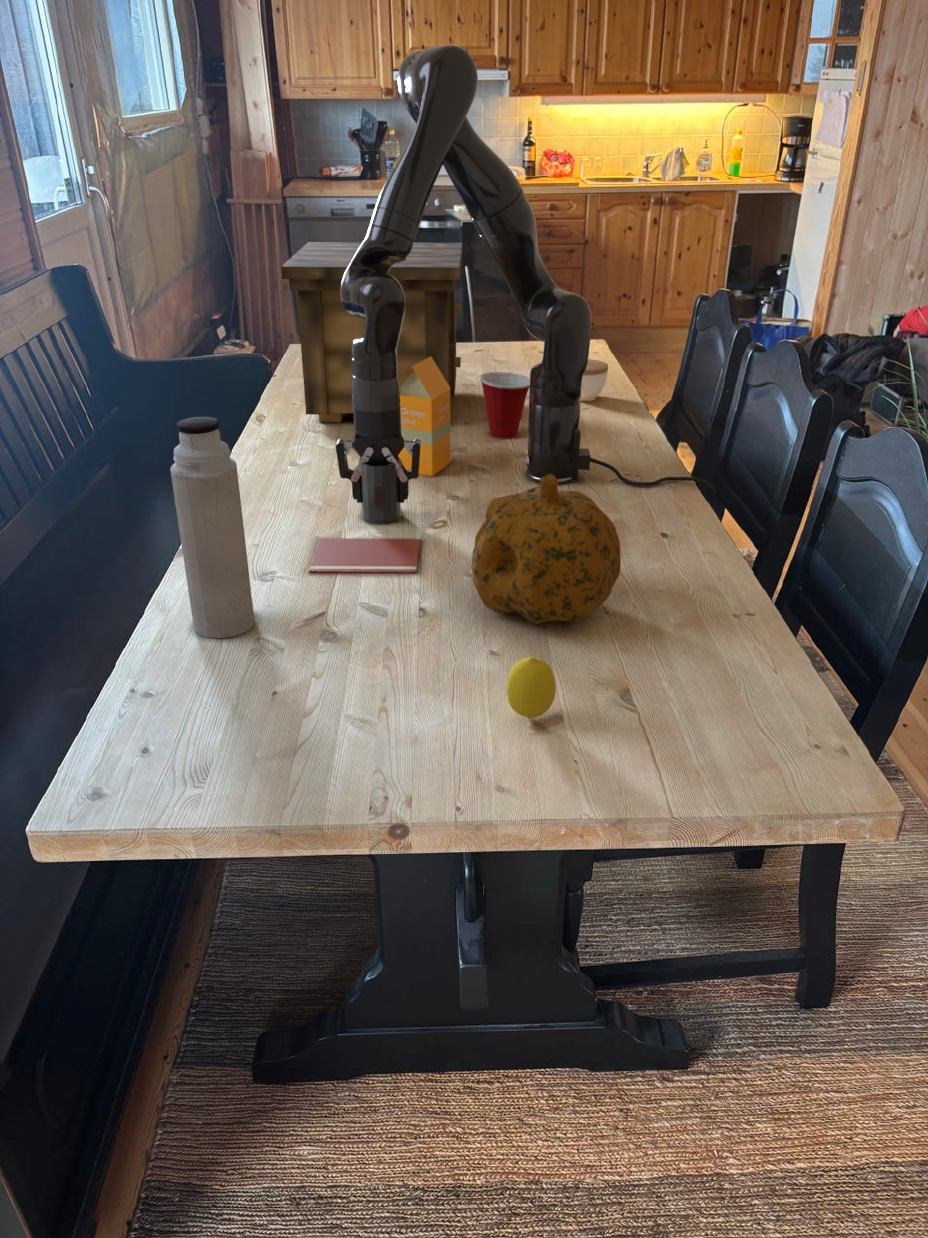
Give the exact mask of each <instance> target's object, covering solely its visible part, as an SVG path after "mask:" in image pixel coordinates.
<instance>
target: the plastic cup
mask: <svg viewBox="0 0 928 1238" xmlns="http://www.w3.org/2000/svg"><path fill="white" fill-rule="evenodd" d="M479 381H480V382H481V383H480V384H481V385H482V393H483V396H484V397H483V399H484V405H485V412H486V419H487V423H488V432H489V434H490V436H491V437H494V438H497V439H511V438H515V437H517V436H518V434H519V431H520V424H521V420H522V416H523V412H524V408H525V403H526V397H527V396H528V392H529V391H530V377H528V376H526V375H523V374H519V373H515V372H507V371H490V372H484V373H482V374H481V375H479Z"/></svg>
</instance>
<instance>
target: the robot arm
mask: <svg viewBox="0 0 928 1238" xmlns="http://www.w3.org/2000/svg"><path fill="white" fill-rule="evenodd" d="M478 84H479V75H478V68H477V66H476V63H475V61H474V58H473V57H472V56H471V54H470V53H469V52H468V51H467V50H466V49H465V48H462V47H461V46H458V45H453V44H447V45H446V44H444V45H436V46H433V47H427V48H422V49H419V50H416V51H415V50H414V51H413V52H411V53H409V54H407V56H405V57H404V59H403V60H402V61H401V63H400V65H399V69H398V75H397V86H398V92H399V96H400V98H401V100H402V103H403V105H404V107H405V108H406V111H407V112H408V114H409V115H410V117H411V118H412V119H413V122H414V123H415V127H414V131H413V132H412V134H411V136H410V137H411V138H410V139H409V141H408V143H407V145H406V147H405V148H404V151H403V152H402V155H401V156H400V157H399V159H398V161H397V162H396V164H395V165H394V166H393V167H394V168H393V169H392V171H391V172H390V174H388V177H387V179H386V180H385V182H384V184H383V186H382V188H381V191H380V193H379V194H378V198H377V201H376V203H375V207H374V210H373V213H372V216H371V219H370V223H369V226H368V229H367V232H366V235H365V237H364V240H363V241H362V242H363V243H362V244H361V245H360V247H359V249H358V250H357V252H356V254H355V256H354V257H353V259H352V261H351V263H350V264H349V266H348V268H347V270H346V272H345V274H344V277H343V280H342V283H341V291H340V295H341V302H342V305H343V307H344V308H345V310H346V311H347V312H348V313H349V314H351V315H353V316H356V317H359V318H364V319H366V321H367V324H366V331H365V335H362V336H359V337H357V338H356V339H355V340H354V342H353V345H352V362H353V389H352V393H353V397H352V403H353V412H354V413H353V428H354V429H353V430H354V437H353V438H352V439H349V440H344V439H343V438H339V439H337V442H336V444H335V453H336V459H337V466H338V472H339V477H340V478H341V479H344V480H345V479H347V480H349V481H350V482H351V493H352V498H353V500H356V503H357V504H361V488H360V475H361V463H364V464H369V465H372V466H375V465H382V466H384V465H389V464H393V463H396V471H397V473H398V477H399V479H400V481H399V492H400V503H401V504H404V503H405V501H406V500H408V498H409V494H410V493H409V491H410V490H409V488H410V487H409V481H410V480H412V479H414V480H415V479H417V478H418V477H419V463H420V448H421V441H420V440H419V439H415V440H414V441H407V440H404V439H403V437H402V434H401V408H400V386H399V380H398V361H397V346H398V342H399V338H400V334H401V329H402V324H403V319H404V314H405V295H404V291H403V288H402V286H401V284H400V283H399V281H398V280H397V279H396V278H395V277H393V276H391V275H388V274H387V273H388V272H389V270H390V268H391V267H392V265H394V264H395V263H398V262H402V261H404V260H406V259H407V258H408V257H409V255H410V253H411V250H412V247H413V243H415V241H416V237H417V234H418V231H419V229H420V225H421V221H422V219H423V215H424V213H425V209H426V207H427V204H428V201H429V198H430V196H431V193H432V190H433V188H434V185H435V183H436V181H437V179H438V175H440V171H441V169H442V167H443V168H444V169H445V171H446V174H447V175H448V178H449V179H450V181H451V184H452V185H453V186H454V188H455V190H456V192H457V194H458V196H459V198H460V199H461V201H462V203H463V205H464V207H465V209H466V211H467V213H468V215H469V217H470V220H471V221H472V223H473V225H474V226H475V229H476V230H477V232H478V234H479V236H480V237H481V239H482V241H483V243H484V244H485V246H486V247H487V250H488V252H489V253H490V255H491V257H492V258H493V261H494V263H495V264H496V266H497V268H498V269H499V271H500V272H501V273H500V274H501V275H502V276H503V278H504V280H505V281H506V284H507V285H508V288H509V290H510V293H511V295H512V298H513V300H514V302H515V305H516V308H517V311H518V313H519V315H520V318H521V320H522V322H523V325H524V326H525V328H526V330H527V332H528V333H529V334H530V335H531V336H532V337H533V338H534V339H535V340H537V341H539V342H541V343H543V353H542V361H541V362H540V363H537V364H535V365H533V366H532V367H531V368H530V372H529V378H530V387H529V391H528V392H529V397H528V399H529V400H528V422H527V423H528V424H527V425H528V426H527V429H528V430H527V452H526V454H525V461H526V470H525V475H526V477H527V478H528V479H529V480H531V481H532V482H536V483H539V484H541V478H542V477H544V476H545V475H548V474H553V475H554V476H555V477H556V479H558V481H559V483H558V485H559V484H566V483H570V482H578V480H579V471H590V470H591V463H592V464H595V465H598V466H601V467H604V468H607V469H608V470H610V471H612V472H613V473H614V475H615V476H616V477H617V478H618V479H619V480H620V481H622V482H624V483H625V484H628V485H631V486H637V487H653V486H656V485H659V484H661V483H664V482H678V481H679V482H682V481H689V482H696V483H700V484H702V485H703V486H705V487H707V488H708V490H710V491H711V492H713V493H717V492H718V491H717V489H716V488H715V486H713V485H712V484H711V483H710V482H708V481H707V480H705V479H704V478H701V477H697V476H666V477H665V476H664V477H662V478H659V479H656V480H653V481H634V480H631V479H628V478H626V477H625V476H623V474H621V472H620V471H619V470H618V469H617V468H616V467H615V466H613V465H611V464H610V463H607V462H606V461H605V462H604V461H601V460H599V459H596V458H593V457H592V456H591V452H590V449H589V448H581V429H580V422H581V421H580V420H581V404H582V403H581V402H582V401H581V387H582V377H583V374H584V372H585V370H586V367H587V363H588V359H589V353H590V347H591V337H592V336H591V335H592V325H593V323H592V322H593V320H592V311H591V307H590V304H589V303H588V301H587V299H585V298H584V297H583V296H582V295H580V294H577V293H574V292H571V291H568V290H565V289H561V288H560V287H559V286H558V285H557V284H556V282H555V281H554V280H553V278H552V276H551V275H550V273H549V271H548V270H547V269H548V268H546V266H545V264H544V261H543V259H542V256H541V254H540V249H539V239H538V228H537V220H536V216H535V213H534V210H533V208H532V205H531V203H530V201H529V199H528V197H527V195H526V193H525V191H524V188H523V187H522V185H521V183H520V181H519V179H518V178H517V176H516V174H515V173H514V172H513V171H512V169H511V168H510V167H509V166H508V165H507V163H506V162H504V161H503V159H502V158H500V156H498V155H497V153H495V151H493V149H491V147H490V146H489V145H488V144H487V143H485V141H484V140H483V139H482V138H481V137H480V136H479V134H478V133H477V131H476V130H475V129H474V127H473V126H472V124H471V123H470V121H469V118H468V116H467V115H468V113H469V111H470V109H471V107H472V105H473V102H474V101H475V98H476V94H477V91H478ZM404 447H405V448H406V449H407V450H408V453H409V454H410V455H412V466H411V469H409V470H406V468H405V467H404V465H403V463H402V461H401V459H400V457H399V456H398V455H399V454H400V452H401V451H402V449H403V448H404ZM351 448H352V449H353V450H354V451H355V453H356V454H357V455H358V456H359V459H360V458H361V460H360V461H359V460H358V461H357V463H356V465H355V467H354V469H351V468H350V467H349V462H348V455H349V454H350V451H351ZM397 457H398V458H399V463H398V462H397V460H396V458H397Z"/></svg>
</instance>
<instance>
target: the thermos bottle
mask: <svg viewBox="0 0 928 1238" xmlns="http://www.w3.org/2000/svg"><path fill="white" fill-rule="evenodd" d="M176 427H177V430H178V432H179V433H178V439H179V444H178V445H177V446H175V447H174V448H173V457H172V458H173V461H174V463H173V464H172V465H171V467H170V476H171V484H172V489H173V498H174V504H175V509H176V510H175V511H176V515H177V516H176V517H177V524H178V531H179V538H180V543H181V551H182V557H183V563H184V570H185V571H184V572H185V578H186V583H187V592H188V598H189V605H190V612H191V617H192V618H191V619H192V623H193V624H192V626H193V629H194V631H195V632H196V633H197V634H198V635H199V636H202V637H206V638H213V639H226V638H231V637H236V636H238V635H241V634H244V633H246V632H247V631H249V630H250V629H251V628H252V627H253V626H254V624H255V614H254V604H253V598H252V597H253V596H252V590H251V589H252V588H251V579H250V571H249V562H248V554H247V553H248V552H247V544H246V535H245V527H244V525H245V524H244V518H243V510H242V509H243V507H242V501H241V493H240V492H241V491H240V482H239V475H238V465H237V461H236V460H234V459H233V458H231V457H230V456H231V449H230V446H229V444H228V443H226V442H225V441H222V439H221V433H220V431H219V428H220V423H219V420H218V419H217V418H216V417H210V416H194V417H193V416H192V417H188V418H183V419H181V420H179V421H178V422H177V423H176Z"/></svg>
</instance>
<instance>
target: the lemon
mask: <svg viewBox="0 0 928 1238" xmlns="http://www.w3.org/2000/svg"><path fill="white" fill-rule="evenodd" d="M555 678H556V677H555V675H554V672H553V670H552V668H551V666H550V665H549V664H548V662H546V661H544V660H543V659H542V658H538V657H535V656H529V657H524V658H522V659H520V660H518V661H517V662H516V663H515V664H514V665H513V666H512V667H511V669H510V670H509V674H508V676H507V680H506V685H505V686H506V687H505V688H506V691H505V692H506V697H507V701H508V704H509V706H510V707H511V709H512V710H513V711H514V712H515V713H517V714H518V715H520V716H522V717H525V718H526V719H528V720H529V719H533V718H537V717H540V716H542V715H544V714H545V713H546V712H548V711H549V710H550V708H552V707H551V706H552V705H553V704H554V701H555V698H556V688H557V685H556V679H555Z"/></svg>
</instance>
